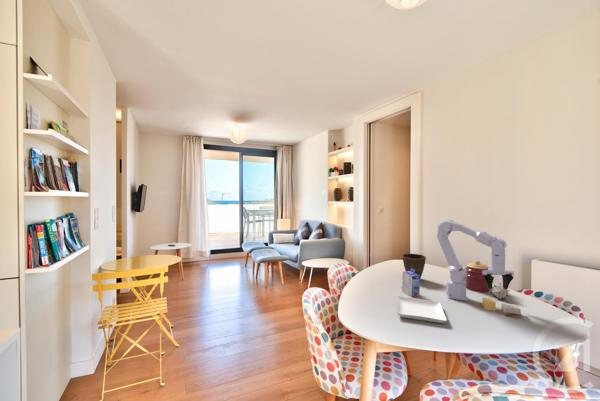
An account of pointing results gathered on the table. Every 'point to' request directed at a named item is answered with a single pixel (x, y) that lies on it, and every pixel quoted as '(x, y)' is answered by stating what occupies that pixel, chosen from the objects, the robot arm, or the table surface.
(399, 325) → the table surface
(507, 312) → the tower base slab
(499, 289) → the game die
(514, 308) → the tower top slab
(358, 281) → the table surface
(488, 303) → the mustard cube
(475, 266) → the canister
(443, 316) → the salad plate
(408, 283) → the ink cartridge box
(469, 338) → the table surface
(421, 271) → the plant pot
